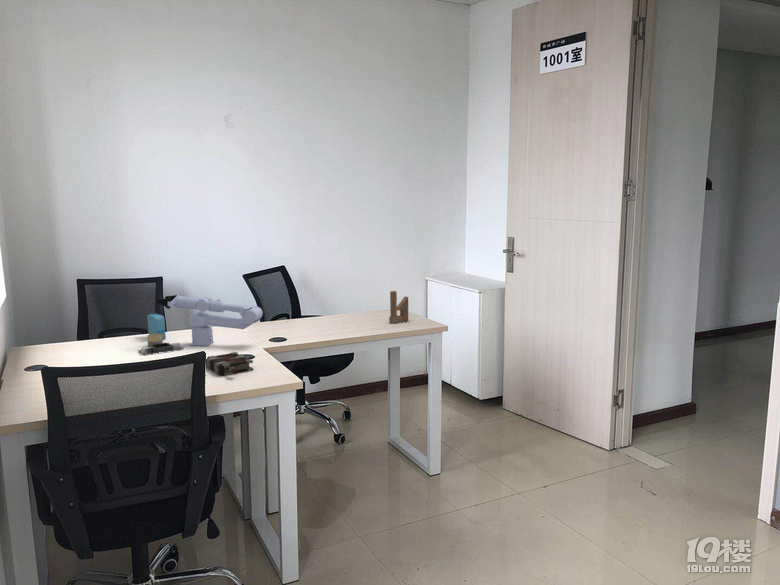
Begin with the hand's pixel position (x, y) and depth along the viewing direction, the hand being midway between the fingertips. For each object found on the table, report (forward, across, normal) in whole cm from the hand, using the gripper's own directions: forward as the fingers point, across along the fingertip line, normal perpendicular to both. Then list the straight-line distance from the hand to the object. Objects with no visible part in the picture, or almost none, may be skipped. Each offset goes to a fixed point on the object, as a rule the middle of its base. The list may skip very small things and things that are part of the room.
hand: (161, 299), depth 316 cm
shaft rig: (-8, +14, +21) cm, 27 cm away
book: (-56, +42, +18) cm, 72 cm away
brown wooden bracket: (-110, -63, +13) cm, 127 cm away
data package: (+7, -9, +23) cm, 25 cm away
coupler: (-1, +7, +22) cm, 23 cm away
